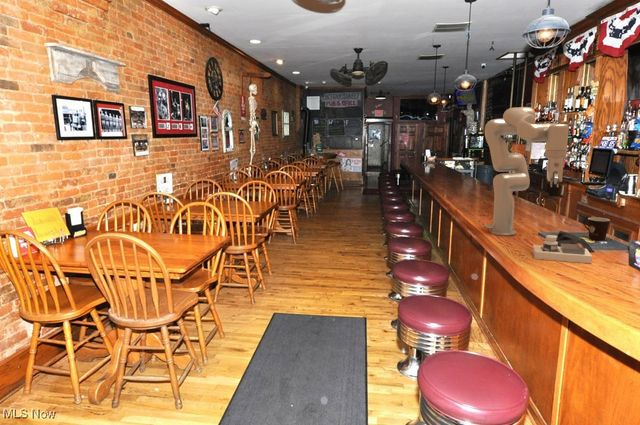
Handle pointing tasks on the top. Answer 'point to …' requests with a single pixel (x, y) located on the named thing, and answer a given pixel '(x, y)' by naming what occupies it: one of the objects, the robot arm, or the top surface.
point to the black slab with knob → (572, 240)
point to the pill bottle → (550, 244)
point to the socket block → (561, 255)
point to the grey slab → (572, 248)
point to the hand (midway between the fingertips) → (551, 194)
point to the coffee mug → (597, 228)
